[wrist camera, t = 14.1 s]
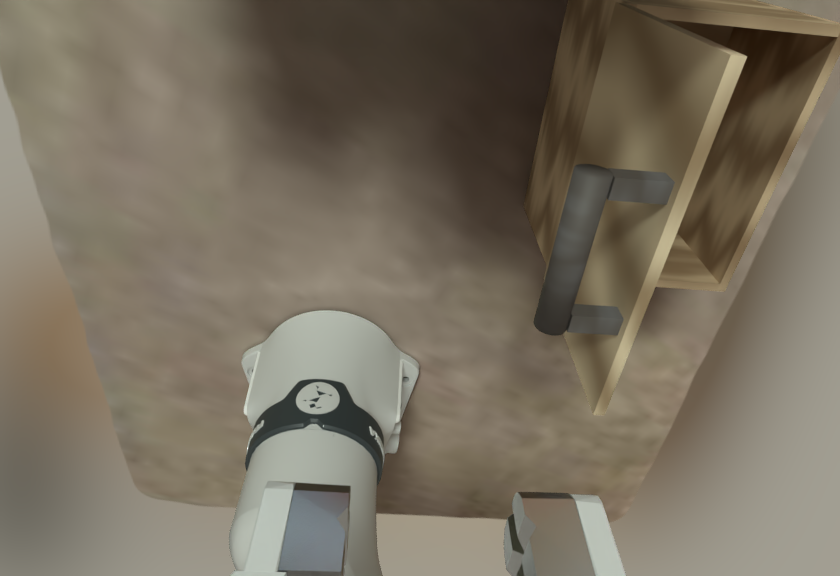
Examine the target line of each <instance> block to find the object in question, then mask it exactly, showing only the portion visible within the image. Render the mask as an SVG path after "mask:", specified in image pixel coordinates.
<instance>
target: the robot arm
mask: <svg viewBox="0 0 840 576" xmlns="http://www.w3.org/2000/svg"><path fill="white" fill-rule="evenodd" d="M242 367H243V369H244V372H245V375H246V377H247V380H248V382H249V389H248V393H247V397H246V401H245V406H244V414H245V415H247V417H248V421H249V423H250V425H251V427H252V429H253V432H252V433H251V436H250V438H249V442H248V446H247V455H246V462H245V466H246V470H247V473H246V477H245V480H244V484H243V487H242V491H241V494H240V498H239V501H238V505H237V508H236V512H235V515H234V519H233V523H232V526H231V529H230V534H229V548H230V553H231V557H232V560H233V563H234V566H235V568H236V570H234V572H233V573H232V574H231V575H230V576H382V572H381V568H380V564H379V559H378V552H377V538H376V537H377V535H376V490H377V485H378V484H379V481H380V479H381V475H382V470H383V465H384V457H385V454H386V453H392V454H394V453H396V452H397V449H398V444H399V433H400V429H401V421H400V420H401V418H402V415H403V413H404V410H405V408H406V405H407V403H408V400H409V398H410V395H411V393H412V390H413V388H414V385H415V383H416V380H417V378H418V375H419V368H420V366H419V364H418V362H417V361H416V360H414V359H413V358H412V357H410V356H408V355H407V354H405V353H403V352H401V351H400V350H399V349H398V348H397V347H396V346H395V345H394V343H393V342H392V341H391V339H390V338H389V337H388V336H387V334H386V333H385V332H384V331H382V330H381V329H380V328H379V327H378V326H376V325H375V324H373V323H372V322H370V321H368V320H366V319H364V318H362V317H359V316H356V315H353V314H350V313H346V312H340V311H328V310H325V311H313V312H308V313H304V314H300V315H297V316H295V317H293V318H291V319H289V320H287V321H285V322H284V323H282V324H281V325H280V326H279V327H277V328H276V329H275V330H274V332H273V333H272V334H271V335H270V336H269V338H268V339H267V340H266V341H264V342H263V343H261V344H259V345H257V346H255V347H252V348H250V349H249V350H247V351H246V352H245V353H244V354H243V357H242ZM404 377H407V378H404ZM512 507H513V513H514V514H512V515H511V516H509V517H508V518H507V522H506V526H505V533H504V553H505V563H506V569H507V571H508V572H509V573H510V574H511V576H626V573H625V570H624V567H623V564H622V561H621V558H620V555H619V552H618V549H617V546H616V543H615V540H614V537H613V534H612V531H611V528H610V525H609V522H608V519H607V516H606V513H605V510H604V507H603V504H602V501H601V500H600V498H599V497H598V496H596V495H583V494H568V493H541V492H517V493H516V494H515V495H514V498H513V501H512Z"/></svg>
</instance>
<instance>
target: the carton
mask: <svg viewBox="0 0 840 576" xmlns="http://www.w3.org/2000/svg"><path fill="white" fill-rule="evenodd" d="M615 2H618V3H627V4H629V5H631V6H634V7H636V8H638V9H640V10H643V11H645V12H647V13H649V14H652V15H654V16H656V17H659V18H661V19H663V20H665V21H668V22H670V23H672V24H675V25H677V26H679V27H681V28H684V29H686V30H688V31H691V32H693V33H695V34H697V35H700V36H702V37H704V38H706V39H709V40H711V41H713V42H716V43H718V44H720V45H722V46H725V47H727V48H729V49H732V50H734V51H736V52H738V53H741V54H743V55H745V56H747V58H746V61H745V63H744V66H743V69H742V71H741V74H740V76H739V79H738V81H737V84H736V86H735V89H734V91H733V94H732V96H731V99H730V101H729V104H728V106H727V109H726V111H725V114H724V116H723V119H722V121H721V124H720V126H719V129H718V131H717V134H716V136H715V139H714V141H713V144H712V146H711V149H710V151H709V154H708V156H707V159H706V161H705V164H704V166H703V169H702V171H701V174H700V176H699V179H698V181H697V184H696V186H695V189H694V191H693V194H692V196H691V199H690V201H689V204H688V206H687V209H686V211H685V214H684V216H683V219H682V221H681V224H680V226H679V229H678V232H677V234H676V237H675V239H674V242H673V244H672V247H671V249H670V252H669V254H668V257H667V259H666V262H665V264H664V267H663V269H662V272H661V274H660V277H659V279H658V282H657V284H656V287H664V288H679V289H694V290H708V291H723V292H725V290H726V288H727V286H728V284H729V282H730V280H731V277H732V275H733V273H734V271H735V269H736V267H737V265H738V263H739V261H740V259H741V257H742V255H743V253H744V251H745V249H746V247H747V245H748V242H749V240H750V238H751V236H752V234H753V232H754V230H755V228H756V226H757V224H758V222H759V220H760V218H761V216H762V214H763V212H764V210H765V207H766V205H767V203H768V201H769V199H770V197H771V195H772V193H773V191H774V189H775V187H776V185H777V183H778V181H779V179H780V177H781V175H782V173H783V170H784V168H785V166H786V164H787V162H788V160H789V158H790V156H791V154H792V152H793V150H794V148H795V146H796V144H797V142H798V140H799V138H800V135H801V133H802V131H803V129H804V127H805V125H806V123H807V121H808V119H809V117H810V115H811V113H812V111H813V109H814V107H815V105H816V103H817V100H818V98H819V96H820V94H821V92H822V90H823V88H824V86H825V84H826V82H827V80H828V78H829V76H830V74H831V72H832V70H833V68H834V65H835V63H836V61H837V59H838V57H839V55H840V23H838V22H834V21H831V20H827V19H823V18H820V17H816V16H812V15H808V14H805V13H801V12H797V11H794V10H790V9H786V8H782V7H779V6H775V5H771V4H768V3H764V2H760V1H756V0H568V3H567V7H566V12H565V17H564V21H563V26H562V31H561V35H560V40H559V44H558V49H557V54H556V58H555V63H554V67H553V72H552V77H551V81H550V86H549V90H548V95H547V100H546V104H545V109H544V114H543V118H542V123H541V127H540V132H539V137H538V141H537V146H536V150H535V155H534V160H533V164H532V169H531V174H530V178H529V183H528V187H527V192H526V197H525V201H524V209H525V211H526V214H527V217H528V219H529V222H530V224H531V227H532V230H533V232H534V235H535V237H536V240H537V243H538V245H539V248H540V250H541V253H542V256H543V258H544V261H545V263H546V266H547V264H548V260H549V256H550V252H551V249H552V245H553V241H554V237H555V233H556V229H557V225H558V222H559V218H560V214H561V210H562V206H563V202H564V199H565V195H566V191H567V187H568V183H569V179H570V175H571V172H572V168H573V164H574V160H575V156H576V152H577V149H578V145H579V141H580V137H581V133H582V129H583V125H584V122H585V118H586V114H587V110H588V106H589V102H590V99H591V95H592V91H593V87H594V83H595V79H596V76H597V72H598V68H599V64H600V60H601V56H602V52H603V49H604V45H605V41H606V37H607V33H608V29H609V26H610V22H611V18H612V14H613V10H614V6H615Z"/></svg>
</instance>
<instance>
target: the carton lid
mask: <svg viewBox="0 0 840 576" xmlns="http://www.w3.org/2000/svg"><path fill="white" fill-rule="evenodd" d="M746 58H747V56H745V55H743V54H741V53H738V52H736V51H734V50H732V49H729V48H727V47H725V46H722V45H720V44H718V43H716V42H713V41H711V40H709V39H706V38H704V37H702V36H700V35H697V34H695V33H693V32H691V31H688V30H686V29H684V28H681V27H679V26H677V25H675V24H672V23H670V22H668V21H665V20H663V19H661V18H659V17H656V16H654V15H652V14H649V13H647V12H645V11H643V10H640V9H638V8H636V7H634V6H631V5H629V4H627V3H618V2H615V6H614V10H613V14H612V18H611V22H610V26H609V29H608V33H607V37H606V41H605V45H604V49H603V52H602V56H601V60H600V64H599V68H598V72H597V76H596V79H595V83H594V87H593V91H592V95H591V99H590V102H589V106H588V110H587V114H586V118H585V122H584V125H583V129H582V133H581V137H580V141H579V145H578V149H577V152H576V156H575V160H574V164H573V168H572V172H571V175H570V179H569V183H568V187H567V191H566V195H565V199H564V202H563V206H562V210H561V214H560V218H559V222H558V225H557V229H556V233H555V237H554V241H553V245H552V249H551V252H550V256H549V260H548V264H547V268H546V272H545V275H544V279H543V280H544V284H543V288H542V292H541V295H540V299H539V303H538V307H537V311H536V315H535V318H534V325H535V327H536V328H537V329H538V330H539V331H541V332H543V333H545V334H548V335H561V334H564V337H565V340H566V343H567V345H568V348H569V351H570V353H571V356H572V359H573V362H574V364H575V367H576V370H577V372H578V375H579V378H580V380H581V383H582V386H583V389H584V391H585V394H586V397H587V399H588V402H589V405H590V407H591V410H592V413H593V415H605V412H606V410H607V407H608V405H609V402H610V400H611V397H612V395H613V392H614V390H615V387H616V384H617V382H618V379H619V377H620V374H621V372H622V369H623V367H624V364H625V362H626V359H627V357H628V354H629V352H630V349H631V347H632V344H633V342H634V339H635V337H636V334H637V332H638V329H639V327H640V324H641V322H642V319H643V317H644V314H645V312H646V309H647V307H648V304H649V302H650V299H651V297H652V294H653V292H654V289H655V287H656V284H657V282H658V279H659V277H660V274H661V272H662V269H663V267H664V264H665V262H666V259H667V257H668V254H669V252H670V249H671V247H672V244H673V242H674V239H675V237H676V234H677V232H678V229H679V226H680V224H681V221H682V219H683V216H684V214H685V211H686V209H687V206H688V204H689V201H690V199H691V196H692V194H693V191H694V189H695V186H696V184H697V181H698V179H699V176H700V174H701V171H702V169H703V166H704V164H705V161H706V159H707V156H708V154H709V151H710V149H711V146H712V144H713V141H714V139H715V136H716V134H717V131H718V129H719V126H720V124H721V121H722V119H723V116H724V114H725V111H726V109H727V106H728V104H729V101H730V99H731V96H732V94H733V91H734V89H735V86H736V84H737V81H738V79H739V76H740V74H741V71H742V69H743V66H744V63H745V61H746Z"/></svg>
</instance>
